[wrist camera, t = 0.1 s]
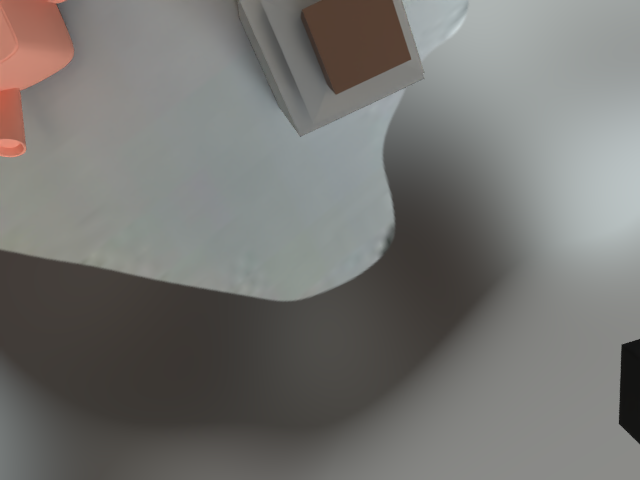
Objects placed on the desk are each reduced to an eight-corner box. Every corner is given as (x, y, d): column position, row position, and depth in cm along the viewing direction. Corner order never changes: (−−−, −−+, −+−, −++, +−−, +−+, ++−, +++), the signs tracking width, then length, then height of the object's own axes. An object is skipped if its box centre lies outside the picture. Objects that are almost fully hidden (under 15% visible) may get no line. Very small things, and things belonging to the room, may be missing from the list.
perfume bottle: (239, 18, 33) (235, -21, 16) (325, -23, 32) (412, -105, 16) (280, 108, 35) (313, 154, 19) (360, 70, 35) (464, 83, 19)
